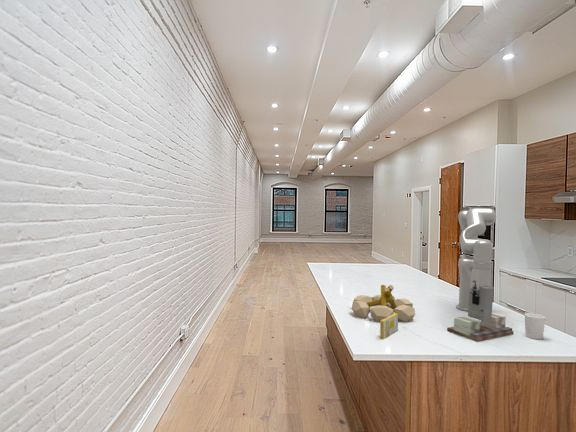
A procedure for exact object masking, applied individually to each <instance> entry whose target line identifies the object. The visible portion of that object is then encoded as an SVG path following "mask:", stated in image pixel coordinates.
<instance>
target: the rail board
mask: <svg viewBox="0 0 576 432" xmlns="http://www.w3.org/2000/svg"><path fill="white" fill-rule="evenodd" d="M506 320H507V319H506V315H502V314H499V313H495V312H492V316H491V320H485V321H482V320H478V319H475V318H472V317H469V316H465V315H463V316H457V317H454V324H453V325H454V326H449V327H447V328H446V331H447V332H449V333H453V334H454V335H458V336H460V337H463V338H466V339H468V340H470V341H473V342H475V343H476V342H477V343H478V342H484V341H489V340H493V339H497V338H498V339H499V338H503V337H507V336H512V335H514V331H513V328H512V327H509V326H506Z"/></svg>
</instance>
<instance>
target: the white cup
mask: <svg viewBox="0 0 576 432" xmlns="http://www.w3.org/2000/svg"><path fill="white" fill-rule="evenodd" d="M545 321H546V316H544V315H542V314H537V313H528V312H527V313H524V330H525V331H524V332H525V336H526V337H527V338H530V339H533V340H534V339H535V340H543V339H544V332H545V324H546V322H545Z"/></svg>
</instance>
